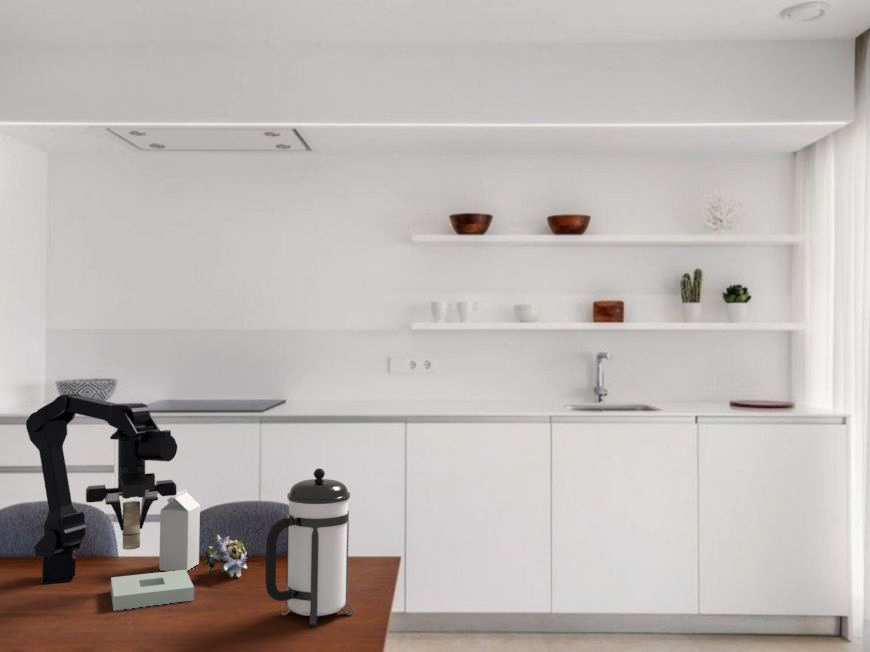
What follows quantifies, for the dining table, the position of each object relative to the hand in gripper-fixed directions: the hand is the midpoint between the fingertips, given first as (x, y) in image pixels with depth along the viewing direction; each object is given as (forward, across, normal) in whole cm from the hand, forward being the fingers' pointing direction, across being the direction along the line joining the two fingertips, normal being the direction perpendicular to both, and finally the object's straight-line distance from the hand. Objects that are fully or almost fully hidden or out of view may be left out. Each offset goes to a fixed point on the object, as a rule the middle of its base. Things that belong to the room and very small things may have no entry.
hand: (131, 529), depth 172 cm
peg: (+4, 0, 0) cm, 4 cm away
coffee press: (+15, +33, -32) cm, 48 cm away
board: (+14, +4, -6) cm, 15 cm away
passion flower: (+14, +21, +3) cm, 25 cm away
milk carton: (+14, +12, +13) cm, 23 cm away
